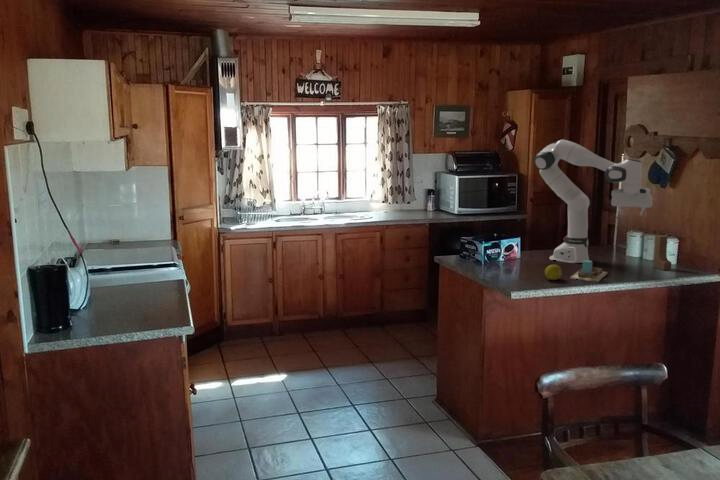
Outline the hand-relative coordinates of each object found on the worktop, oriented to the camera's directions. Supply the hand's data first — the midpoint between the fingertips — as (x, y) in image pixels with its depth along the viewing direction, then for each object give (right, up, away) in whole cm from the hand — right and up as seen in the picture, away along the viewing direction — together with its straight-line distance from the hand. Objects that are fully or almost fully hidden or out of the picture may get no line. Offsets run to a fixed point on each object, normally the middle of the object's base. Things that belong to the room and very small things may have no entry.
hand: (630, 215), depth 335 cm
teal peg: (-27, -32, -8) cm, 42 cm away
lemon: (-45, -34, -10) cm, 57 cm away
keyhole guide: (-23, -32, -3) cm, 40 cm away
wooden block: (+21, -29, +9) cm, 37 cm away
